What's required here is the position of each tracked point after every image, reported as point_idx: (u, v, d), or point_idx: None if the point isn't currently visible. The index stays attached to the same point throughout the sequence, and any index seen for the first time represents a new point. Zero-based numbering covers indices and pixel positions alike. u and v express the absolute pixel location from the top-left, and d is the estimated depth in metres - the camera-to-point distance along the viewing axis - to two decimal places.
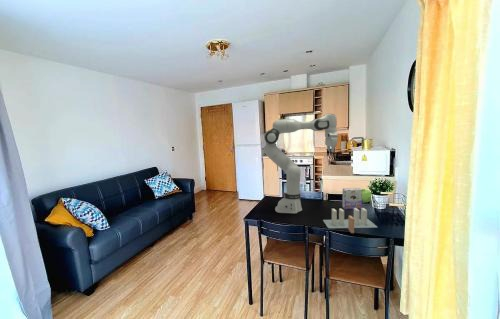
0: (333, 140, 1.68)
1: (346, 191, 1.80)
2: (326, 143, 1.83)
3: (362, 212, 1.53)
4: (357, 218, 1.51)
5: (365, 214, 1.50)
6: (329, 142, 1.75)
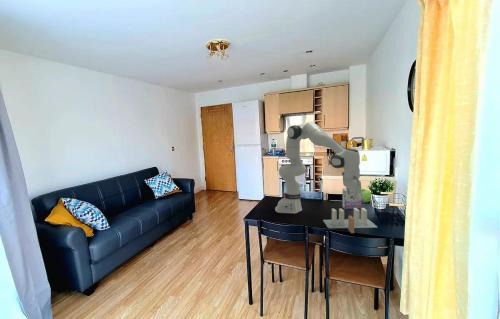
0: None
1: (346, 191, 1.80)
2: None
3: (362, 212, 1.53)
4: (357, 218, 1.51)
5: (365, 214, 1.50)
6: None
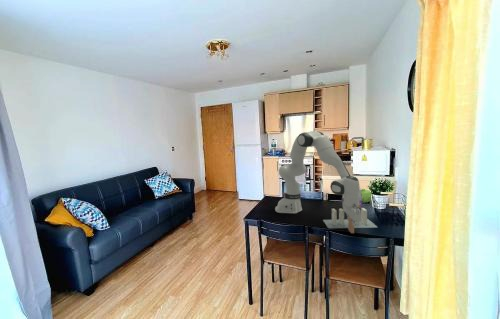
0: None
1: None
2: None
3: (362, 212, 1.53)
4: None
5: (365, 214, 1.50)
6: None
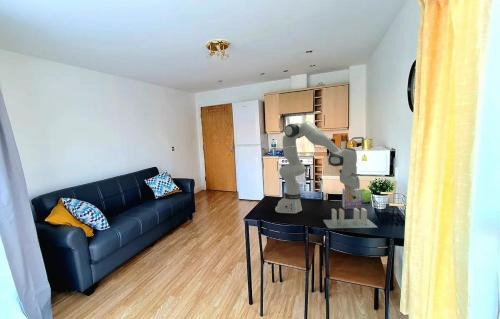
0: None
1: None
2: None
3: (362, 212, 1.53)
4: (357, 218, 1.51)
5: (365, 214, 1.50)
6: None
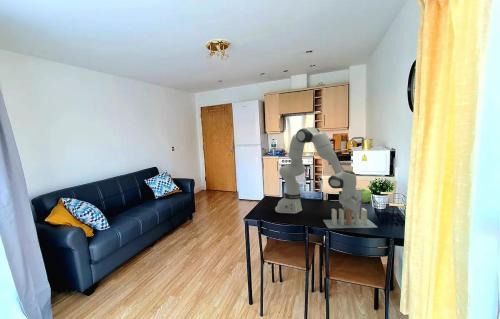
0: None
1: None
2: None
3: (362, 212, 1.53)
4: (357, 218, 1.51)
5: (365, 214, 1.50)
6: None
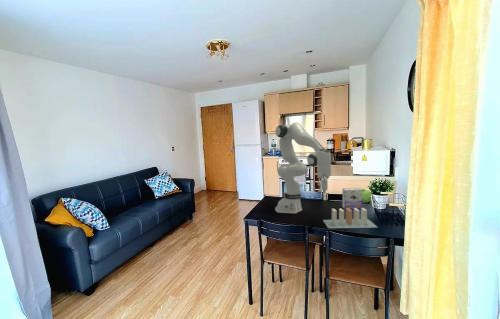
0: None
1: (346, 191, 1.80)
2: None
3: (362, 212, 1.53)
4: (357, 218, 1.51)
5: (365, 214, 1.50)
6: None
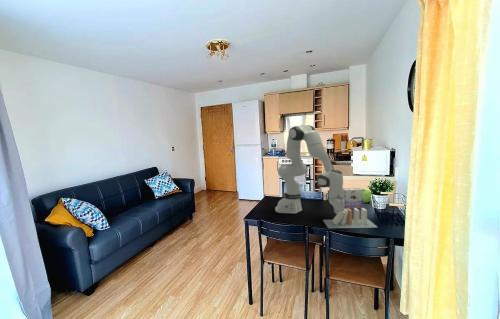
0: None
1: (346, 191, 1.80)
2: None
3: (362, 212, 1.53)
4: (357, 218, 1.51)
5: (365, 214, 1.50)
6: None
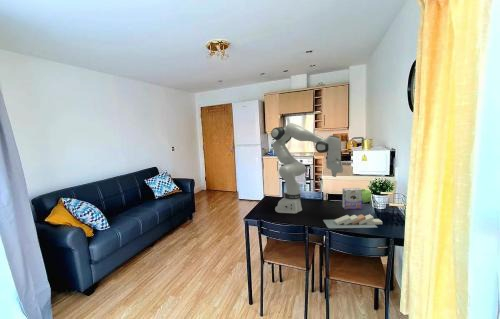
0: None
1: (346, 191, 1.80)
2: None
3: (376, 220, 1.53)
4: (365, 220, 1.51)
5: (378, 223, 1.50)
6: None
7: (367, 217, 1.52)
